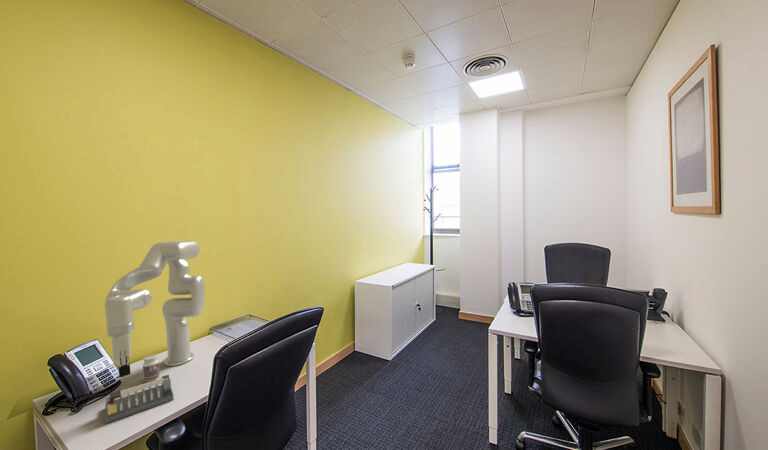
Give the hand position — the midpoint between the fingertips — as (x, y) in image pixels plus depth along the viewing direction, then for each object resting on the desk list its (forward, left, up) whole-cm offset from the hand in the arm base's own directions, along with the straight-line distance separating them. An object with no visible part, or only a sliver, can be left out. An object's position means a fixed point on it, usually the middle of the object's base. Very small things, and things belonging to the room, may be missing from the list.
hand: (125, 374), depth 115 cm
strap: (+1, +4, -7) cm, 8 cm away
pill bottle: (-19, +9, -13) cm, 25 cm away
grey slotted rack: (+1, +4, -13) cm, 14 cm away
